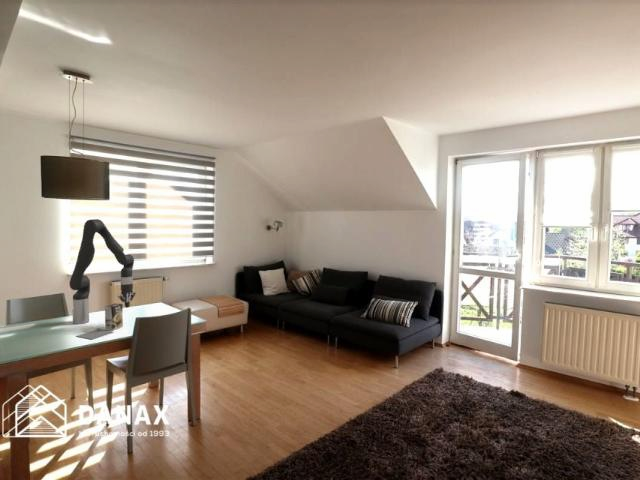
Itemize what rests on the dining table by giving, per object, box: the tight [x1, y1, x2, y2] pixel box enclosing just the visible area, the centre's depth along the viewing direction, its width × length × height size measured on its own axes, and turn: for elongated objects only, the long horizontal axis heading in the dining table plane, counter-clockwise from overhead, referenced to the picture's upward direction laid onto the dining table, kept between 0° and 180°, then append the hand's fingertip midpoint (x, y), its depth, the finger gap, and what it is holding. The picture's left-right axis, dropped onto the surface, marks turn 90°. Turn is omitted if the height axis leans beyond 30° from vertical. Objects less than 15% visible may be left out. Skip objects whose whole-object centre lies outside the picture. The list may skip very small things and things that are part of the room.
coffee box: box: [104, 303, 124, 332], centre depth 239 cm, size 9×6×16 cm
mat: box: [76, 328, 115, 341], centre depth 227 cm, size 14×15×1 cm
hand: (127, 307), depth 249 cm, fingers closed
